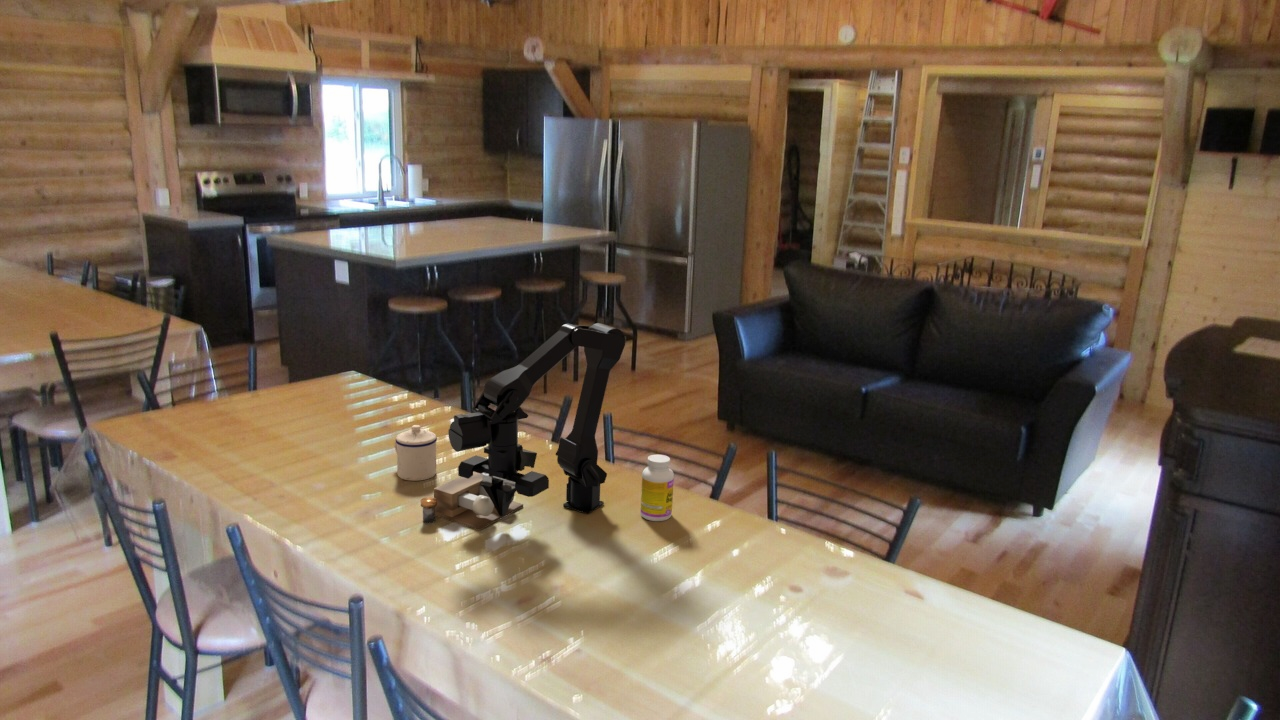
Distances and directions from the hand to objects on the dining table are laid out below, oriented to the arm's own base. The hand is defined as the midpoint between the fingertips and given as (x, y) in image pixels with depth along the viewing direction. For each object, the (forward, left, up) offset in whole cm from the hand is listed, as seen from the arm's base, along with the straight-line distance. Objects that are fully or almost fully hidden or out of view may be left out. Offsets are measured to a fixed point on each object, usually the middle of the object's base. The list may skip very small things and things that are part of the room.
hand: (502, 515), depth 173 cm
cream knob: (+8, 0, -1) cm, 8 cm away
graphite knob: (+8, -7, -1) cm, 11 cm away
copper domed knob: (+14, +6, -3) cm, 16 cm away
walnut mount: (+9, -3, -3) cm, 10 cm away
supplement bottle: (-22, -23, -3) cm, 32 cm away
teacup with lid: (+35, -10, -3) cm, 36 cm away
